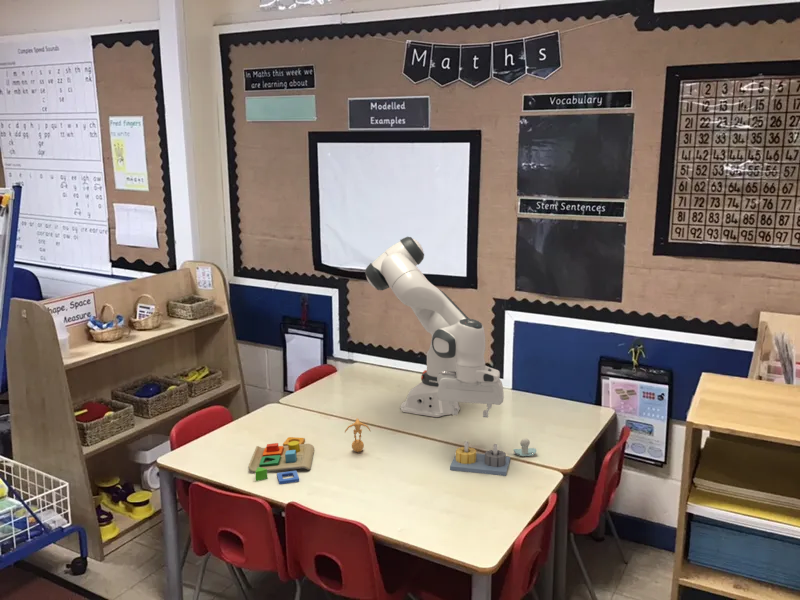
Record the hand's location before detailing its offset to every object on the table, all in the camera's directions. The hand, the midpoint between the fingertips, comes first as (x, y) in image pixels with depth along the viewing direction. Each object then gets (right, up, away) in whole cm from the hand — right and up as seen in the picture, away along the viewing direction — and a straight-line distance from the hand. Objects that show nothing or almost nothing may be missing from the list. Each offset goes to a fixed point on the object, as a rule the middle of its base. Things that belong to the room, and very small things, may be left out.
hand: (470, 415), depth 218 cm
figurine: (-35, -14, +12) cm, 40 cm away
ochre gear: (-1, -14, +2) cm, 14 cm away
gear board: (+3, -16, +1) cm, 16 cm away
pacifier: (+18, -14, +9) cm, 25 cm away
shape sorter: (-59, -15, +6) cm, 61 cm away
